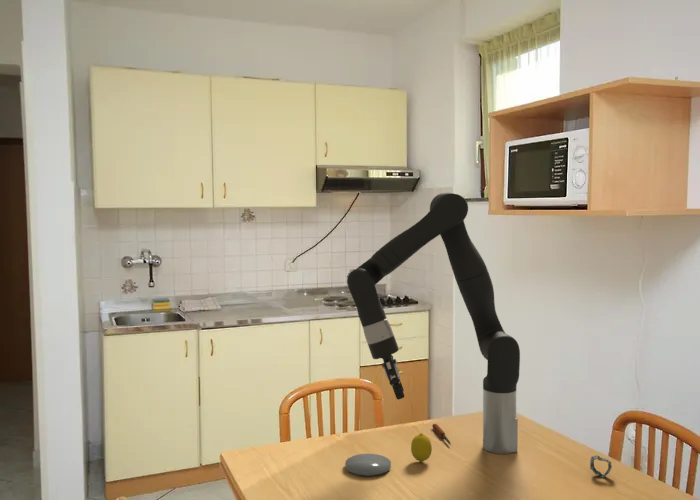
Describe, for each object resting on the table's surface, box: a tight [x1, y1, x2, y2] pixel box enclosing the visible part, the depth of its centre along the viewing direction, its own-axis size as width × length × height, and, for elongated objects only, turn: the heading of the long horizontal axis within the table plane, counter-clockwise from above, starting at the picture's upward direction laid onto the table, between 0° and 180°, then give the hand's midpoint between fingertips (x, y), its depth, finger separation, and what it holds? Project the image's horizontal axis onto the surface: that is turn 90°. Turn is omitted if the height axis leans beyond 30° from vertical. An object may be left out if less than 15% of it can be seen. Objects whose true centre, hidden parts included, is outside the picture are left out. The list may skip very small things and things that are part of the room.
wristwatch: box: [589, 455, 612, 479], centre depth 157 cm, size 3×5×5 cm, turn 55°
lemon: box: [410, 432, 433, 464], centre depth 168 cm, size 6×6×8 cm
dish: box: [344, 453, 392, 477], centre depth 165 cm, size 12×12×2 cm
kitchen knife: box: [432, 423, 451, 446], centre depth 186 cm, size 16×1×2 cm, turn 10°
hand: (400, 395), depth 168 cm, fingers open, 8 cm apart
